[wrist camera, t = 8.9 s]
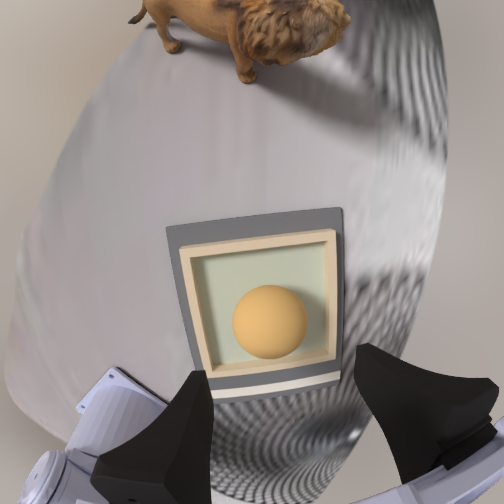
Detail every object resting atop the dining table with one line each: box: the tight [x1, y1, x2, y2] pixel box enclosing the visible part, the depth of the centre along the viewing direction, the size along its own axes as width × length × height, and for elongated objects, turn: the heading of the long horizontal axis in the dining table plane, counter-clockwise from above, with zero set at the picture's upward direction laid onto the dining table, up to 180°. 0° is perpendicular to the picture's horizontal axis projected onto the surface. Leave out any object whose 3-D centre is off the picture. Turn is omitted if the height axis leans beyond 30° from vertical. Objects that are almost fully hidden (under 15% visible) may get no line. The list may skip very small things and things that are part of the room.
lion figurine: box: [128, 0, 351, 83], centre depth 11 cm, size 15×5×9 cm, turn 68°
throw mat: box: [166, 207, 344, 404], centre depth 20 cm, size 16×12×1 cm
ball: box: [232, 285, 308, 359], centre depth 17 cm, size 5×5×5 cm
